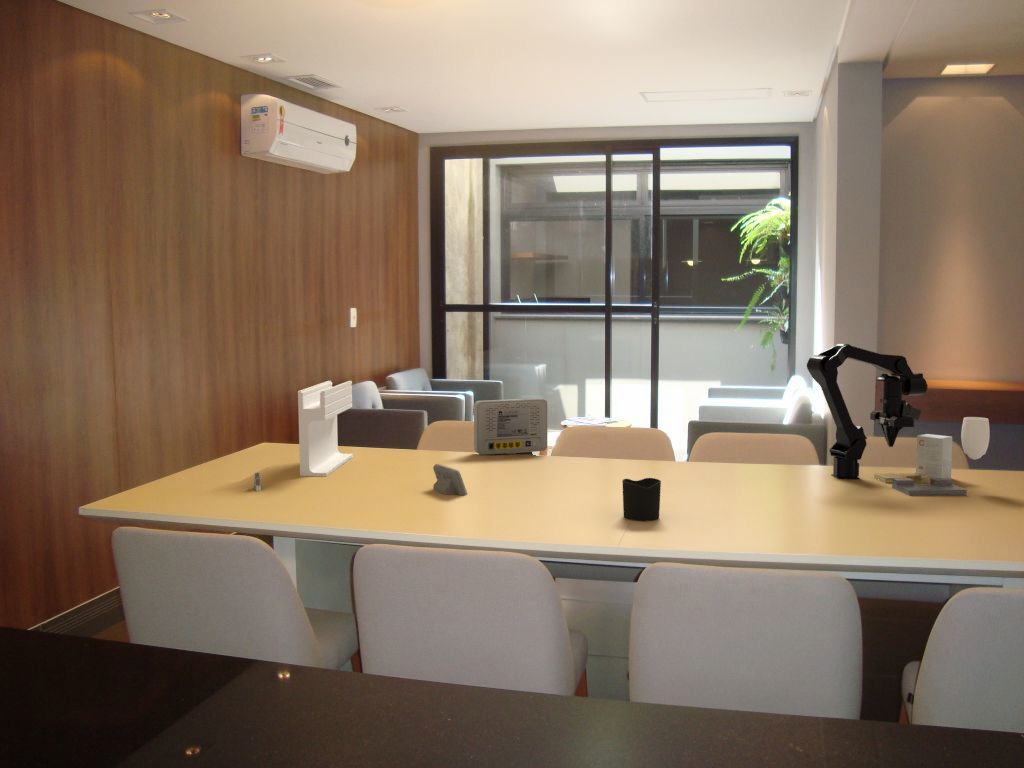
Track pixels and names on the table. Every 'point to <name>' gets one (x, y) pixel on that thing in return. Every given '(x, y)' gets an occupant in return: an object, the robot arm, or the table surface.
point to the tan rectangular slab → (916, 477)
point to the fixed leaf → (928, 487)
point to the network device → (510, 426)
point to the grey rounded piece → (975, 436)
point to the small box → (934, 455)
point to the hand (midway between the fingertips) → (890, 446)
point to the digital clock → (448, 481)
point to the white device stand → (321, 427)
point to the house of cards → (256, 482)
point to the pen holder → (641, 499)
